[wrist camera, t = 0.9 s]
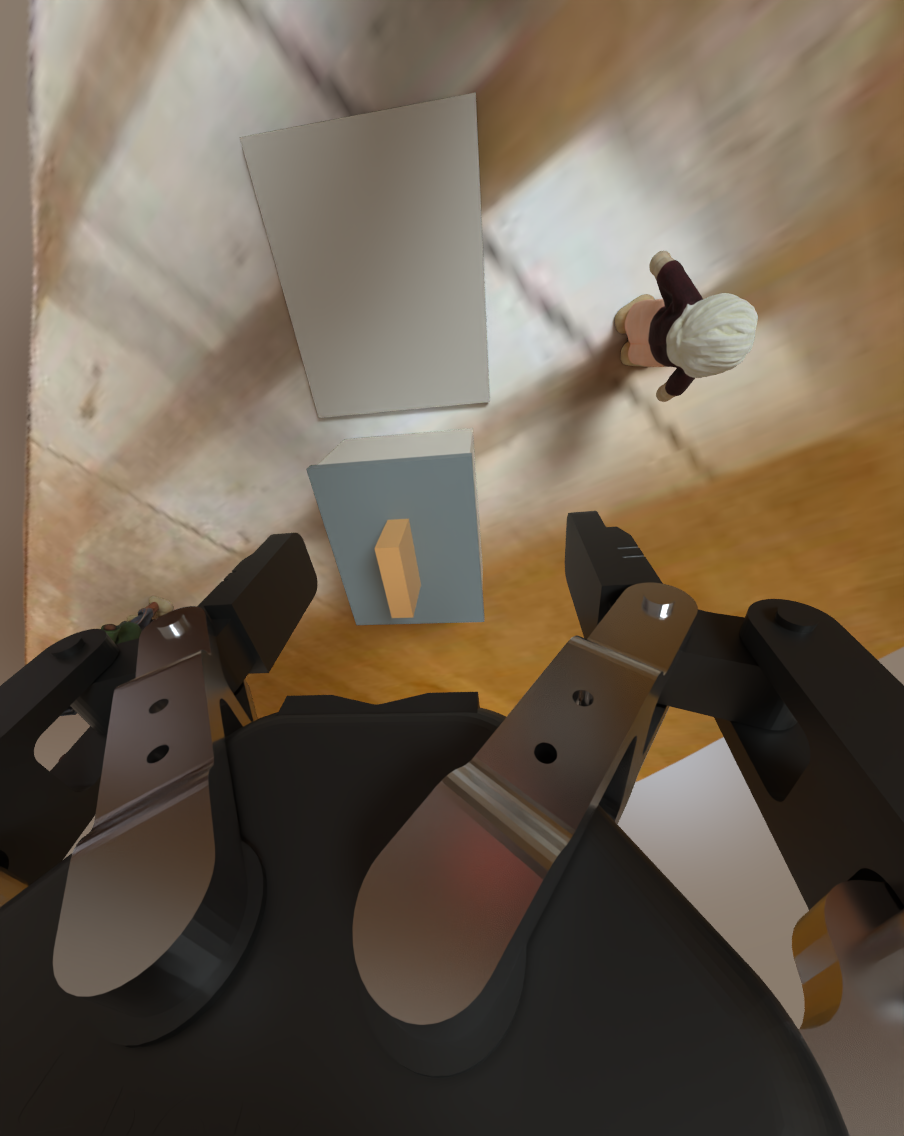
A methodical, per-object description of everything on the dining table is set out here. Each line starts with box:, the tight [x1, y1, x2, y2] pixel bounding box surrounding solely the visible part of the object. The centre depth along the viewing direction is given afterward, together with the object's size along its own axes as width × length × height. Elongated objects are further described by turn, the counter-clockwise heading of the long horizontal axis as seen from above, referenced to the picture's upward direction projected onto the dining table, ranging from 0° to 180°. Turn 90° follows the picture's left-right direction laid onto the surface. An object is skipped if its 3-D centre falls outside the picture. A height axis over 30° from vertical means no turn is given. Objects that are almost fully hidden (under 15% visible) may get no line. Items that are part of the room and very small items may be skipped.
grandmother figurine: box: [615, 251, 758, 402], centre depth 22 cm, size 8×4×13 cm, turn 31°
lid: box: [306, 453, 484, 625], centre depth 29 cm, size 14×11×6 cm
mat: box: [240, 92, 490, 418], centre depth 27 cm, size 16×14×1 cm
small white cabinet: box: [318, 428, 483, 579], centre depth 34 cm, size 14×11×7 cm
